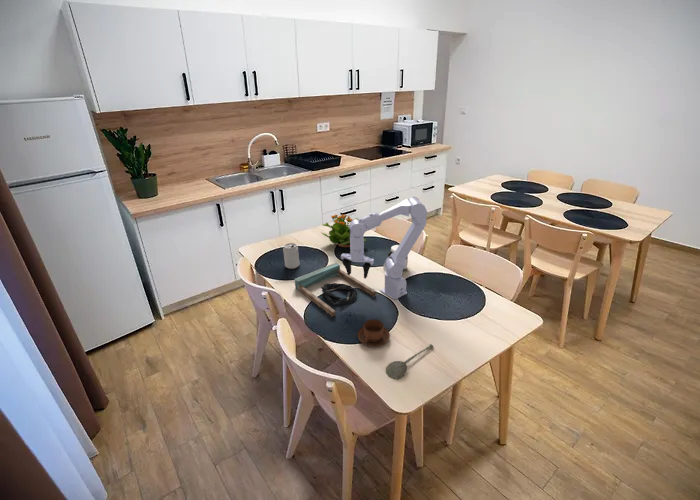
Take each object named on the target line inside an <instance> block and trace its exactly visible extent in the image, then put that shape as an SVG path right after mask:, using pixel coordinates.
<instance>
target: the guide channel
mask: <svg viewBox="0 0 700 500" xmlns="http://www.w3.org/2000/svg"><path fill="white" fill-rule="evenodd" d="M336 276H340V277H341V278H342V279H344V280H345V281H347V282H349V283H350V284H352V285H354V286H356V288H358V289H360V290H362V291H363V292H365V293H366V292H367V294H368V293H369V294H370V295H369V294H368V295H369V296H371V295H372V296H371V297H373V296H374V297H376V296H377V292H376V291H377V290H375V289H374V288H372V287H370V286H369V285H367V284H366V283H364V282H362V281H360V280H359V279H357V278H356V277H353V276H352V275H351V274H350V275H348V274H347V272H345V271H344V270H342V269H341V264H339V263H338V262H334V263H331V264H329V265H327V266H324V267H322V268H319V269H316V270H314V271H312V272H311V271H310V272H309V273H307V274H303V275H301V276H298V277H297V278H296V277H295V278H294V284H295V285H294V286H295V289H296V290H297V291H299V293H301V294H303V296H305V297H306V298H307V299H308V300H310V301H311V302H312V303H314V304H315V305H316V304H317V306H318V307H319V308H320V307H321V308H322V311H324V310H325V311H326V312H325V311H324V312H325V313H327V314H328V313H329V314H330V315H331V316H330V315H329V314H328V315H329V316H330V317H331V318H333V316H334V317H335V316H336V310H334V308H332V306H330V305H329V304H327V303H326V302H325V301H323V300H321V299H320V298H319V297H317V296H316V295H315V294H314V293H313V292H311V291H310V290H308V288H309V287H311V286H314V285H316V284H319V283H321V282H323V281H326V280H329V279H330V278H333V277H336ZM375 295H376V296H375ZM321 308H320V309H321Z"/></svg>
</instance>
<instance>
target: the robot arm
mask: <svg viewBox="0 0 700 500" xmlns="http://www.w3.org/2000/svg"><path fill="white" fill-rule="evenodd" d="M427 214H428V211H427V208H426V206H425V205H424V204H423V203H422V202H421V201H420V199H419V198H418V197H416V196H410V197H408V198H406V199H403V200H401V202H399V203H396V204H395V205H393V206H391V207H389V208H387V209H386V210H384V211H382V212H380V213H379V212H369V213H368V215H366V216H363V217H362V218H361V217H358V219H359V220H354V219H352V220H353V221H351V222H350V223H349V224H348V225H349V229H350V231H351V232H350V247H349V249H350V251H349V253H342V254H341V255H340V259H341V260H342V265H343V266H344V268H345V270H346V273H347V274H348V275H350V276H351V274H352V262H353V263H364V264H363V265H362V268H363V279H367V277H368V273H369V270H370V268H371V266H373V265H374V263H375V259H374V258H372V257H371V258H370V257H368V256H366V255H365V247H364V246H365V241H364V235H365V233H366V232H369V231H370V230H372V229H375V228H377V227H379V226H381V225H382V222H384V221H386V220H390V219H392V218H394V217H397V216H400V215H402V216H406V217H410V218H411V220H412V223H411V224H410V225H409V227H408V229H407V231H406V232H405V234H404V236H403V238H402V239H401V241H400V243H399V244H398V245H399V246H398V248H397V250H396V251H395V253H392V254H391V255H390V257H388V256H387V258H386V259H384V263H383V265H384V264H385V267H386V269H387V270H386V272H385V271H384V287H383V288H382V289H381V288H380V292H381V293H384V294H385V295H386V296H388V297H389V298H392V299H393V300H397V299H399V298H401V297H403V296H405V295H407V294H408V292H407V280H406V279H405V278H404V277H403V276H402V275H403V272H404V270H403V268H404V266H405V259H406V257H407V256H408V255H409V254H410V252H411V250H412V249H413V248H414V245H415V244H416V242H417V241H418V239H419V237H420V236H421V234H422V232H423V231H424V230H425V227H426V226H427Z"/></svg>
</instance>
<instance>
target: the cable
mask: <svg viewBox="0 0 700 500" xmlns="http://www.w3.org/2000/svg"><path fill="white" fill-rule="evenodd" d="M320 289H321V292H322V293H323V295H324V298H325V299H326V300H327V301H328V302H329V303H330V304H331V305H333V306H335V305H340V304H342V305H346V304H347V303H348V304H352V303H353V302H355V300H356V298H357V296H358V292H357V290H356V288H354V287H353V286H352V285H348V284H345V283H337V282H333V283H328V282H326V283H325V284H323V286H321V287H320ZM331 289H334V290H345V291H348V292H347V295H346V298H345V297H339V296H337V295H335V294H333V293H332V292H330V291H329V290H331ZM351 302H352V303H351Z"/></svg>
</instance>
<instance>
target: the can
mask: <svg viewBox="0 0 700 500" xmlns="http://www.w3.org/2000/svg"><path fill="white" fill-rule="evenodd" d="M282 249H283V250H282V252H283V261H284V267H285V268H287V269H290V270H293V269H296V268H298V267H299V266H300V256H299V254H300V253H299V246H298V245H297V244H296V243H293V242H289V243H286V244H285V245H283V248H282Z"/></svg>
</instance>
